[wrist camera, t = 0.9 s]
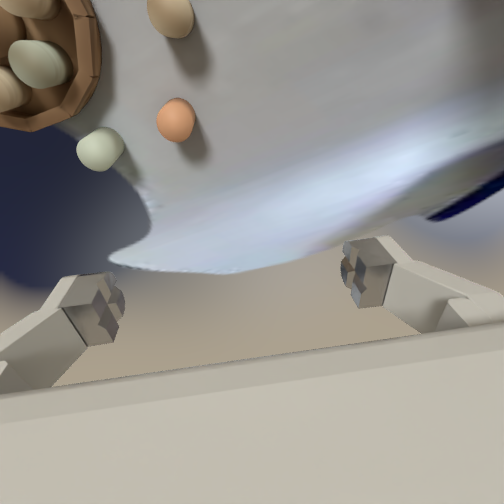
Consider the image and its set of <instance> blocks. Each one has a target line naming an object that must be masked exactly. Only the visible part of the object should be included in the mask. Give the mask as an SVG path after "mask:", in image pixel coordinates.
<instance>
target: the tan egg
mask: <svg viewBox="0 0 504 504" xmlns="http://www.w3.org/2000/svg"><path fill="white" fill-rule="evenodd" d="M147 10H148V15H149V18H150V20H151V23H152V24H153V26H154V27H155V29H156V30H157V31H158V32H160V33H161V34H162V35H164V36H166V37H170V38H184V37H186V36H187V35H188V34H189V33H190V32H191V30H192V28H193V25H194V11H193V8H192V5H191V3H190V2H189V0H147Z"/></svg>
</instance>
